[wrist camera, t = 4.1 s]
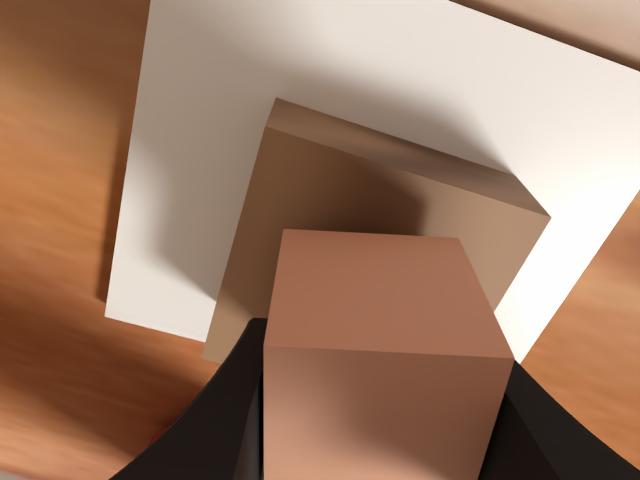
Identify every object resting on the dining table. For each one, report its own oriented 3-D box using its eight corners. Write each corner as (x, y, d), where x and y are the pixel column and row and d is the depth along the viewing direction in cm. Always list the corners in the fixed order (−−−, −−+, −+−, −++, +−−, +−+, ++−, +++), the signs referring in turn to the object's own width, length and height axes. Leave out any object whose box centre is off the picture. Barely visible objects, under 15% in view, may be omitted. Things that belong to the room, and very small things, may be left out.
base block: (516, 176, 16) (551, 217, 14) (417, 356, 20) (429, 416, 17) (275, 97, 15) (264, 126, 13) (218, 303, 19) (200, 358, 16)
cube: (458, 238, 13) (515, 357, 9) (431, 369, 15) (467, 513, 11) (283, 229, 13) (263, 345, 9) (280, 362, 15) (263, 503, 11)
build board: (691, 91, 15) (703, 95, 15) (481, 402, 22) (485, 413, 21) (172, -103, 13) (166, -105, 13) (110, 307, 20) (104, 316, 19)
